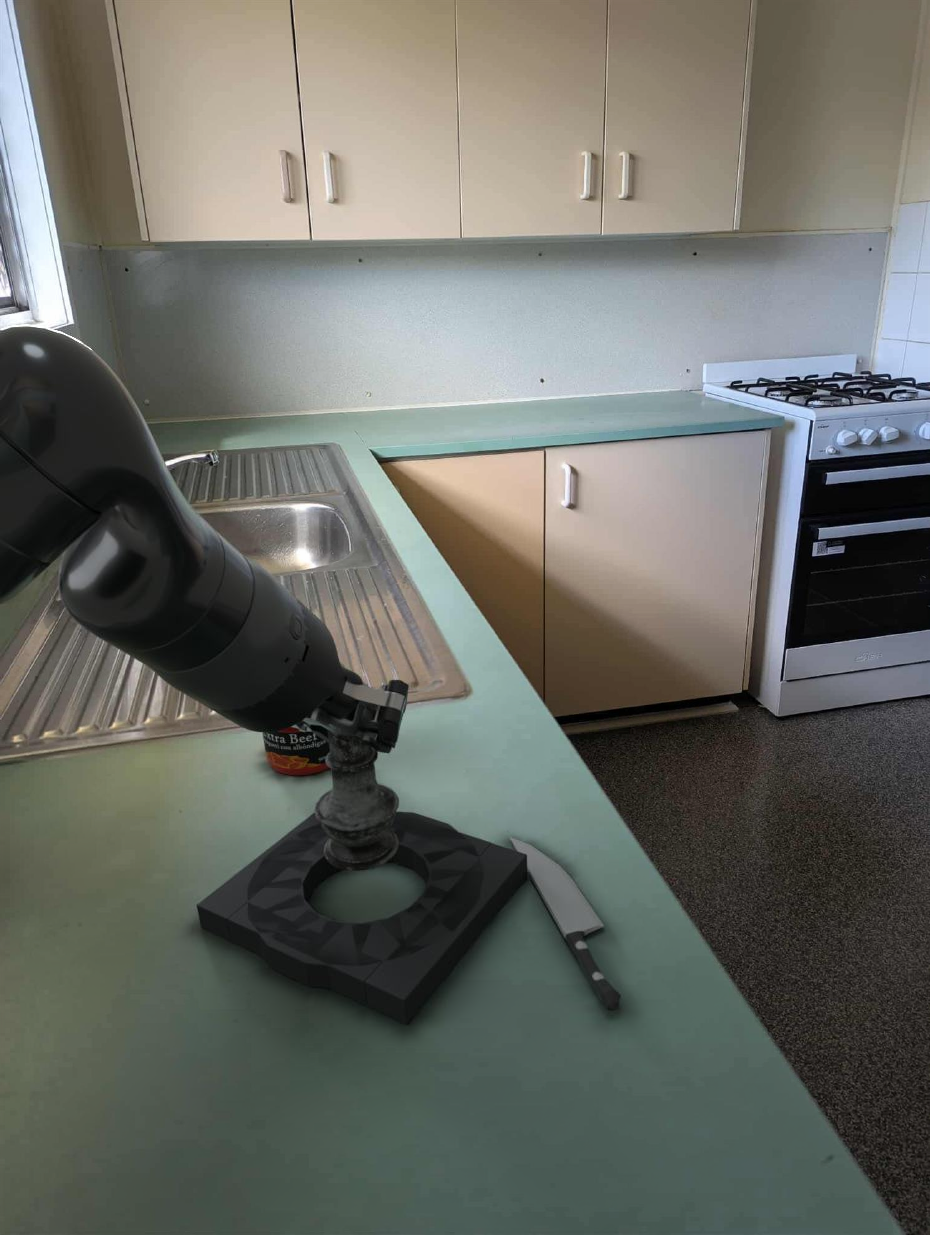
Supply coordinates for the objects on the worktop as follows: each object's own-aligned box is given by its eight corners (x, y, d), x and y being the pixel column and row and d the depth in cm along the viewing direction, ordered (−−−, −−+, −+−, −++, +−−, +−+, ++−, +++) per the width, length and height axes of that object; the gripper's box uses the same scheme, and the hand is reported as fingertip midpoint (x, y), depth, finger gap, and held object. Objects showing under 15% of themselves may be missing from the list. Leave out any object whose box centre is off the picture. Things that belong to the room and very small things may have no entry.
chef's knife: (543, 834, 71) (508, 839, 70) (544, 822, 71) (509, 827, 70) (651, 1009, 54) (606, 1018, 53) (652, 994, 53) (607, 1003, 53)
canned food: (252, 773, 82) (235, 666, 78) (290, 731, 89) (276, 631, 85) (327, 781, 80) (314, 672, 76) (360, 738, 87) (349, 636, 83)
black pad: (194, 932, 62) (190, 909, 61) (345, 809, 75) (343, 789, 75) (401, 1031, 53) (399, 1006, 52) (531, 871, 66) (530, 850, 66)
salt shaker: (304, 864, 61) (283, 710, 56) (343, 817, 66) (327, 672, 61) (381, 880, 59) (365, 721, 54) (415, 830, 64) (403, 681, 59)
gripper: (107, 691, 47) (264, 772, 62) (335, 726, 42) (446, 805, 57) (155, 568, 50) (294, 674, 65) (375, 587, 45) (471, 697, 60)
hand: (365, 735), depth 61 cm, fingers closed on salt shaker, 3 cm apart
